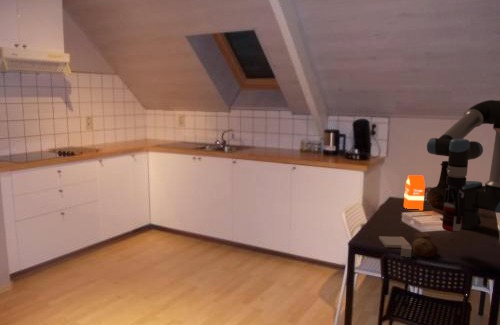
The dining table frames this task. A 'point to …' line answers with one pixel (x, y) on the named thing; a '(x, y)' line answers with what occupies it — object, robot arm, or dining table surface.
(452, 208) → the canned food
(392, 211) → the dining table surface
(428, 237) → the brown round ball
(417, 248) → the bread roll
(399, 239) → the plate
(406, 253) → the grey block
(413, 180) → the orange juice
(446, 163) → the glass bottle
